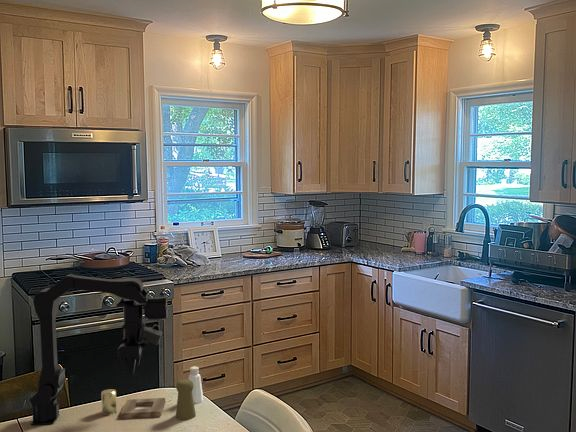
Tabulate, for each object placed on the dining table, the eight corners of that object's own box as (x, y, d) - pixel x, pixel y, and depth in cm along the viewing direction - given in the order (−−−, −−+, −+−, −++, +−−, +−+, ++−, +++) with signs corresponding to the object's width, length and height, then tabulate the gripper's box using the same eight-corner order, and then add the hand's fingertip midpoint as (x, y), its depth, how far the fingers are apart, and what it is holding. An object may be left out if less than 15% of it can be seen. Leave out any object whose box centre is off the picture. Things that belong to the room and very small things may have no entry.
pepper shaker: (191, 420, 171) (190, 384, 171) (172, 419, 173) (171, 383, 172) (198, 412, 177) (197, 377, 177) (180, 411, 179) (179, 376, 178)
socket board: (120, 418, 174) (120, 413, 174) (127, 404, 185) (127, 399, 185) (160, 416, 175) (160, 411, 175) (165, 402, 186) (165, 397, 186)
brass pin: (100, 415, 176) (99, 394, 176) (103, 409, 181) (103, 389, 180) (115, 414, 177) (114, 394, 176) (118, 409, 181) (117, 388, 181)
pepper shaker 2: (183, 402, 186) (182, 368, 185) (193, 396, 191) (192, 363, 190) (196, 405, 183) (195, 371, 183) (206, 399, 188) (206, 366, 188)
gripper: (155, 327, 166) (156, 380, 167) (164, 312, 184) (164, 360, 185) (116, 328, 165) (117, 381, 166) (128, 313, 183) (129, 361, 184)
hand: (134, 370), depth 175 cm, fingers open, 9 cm apart
